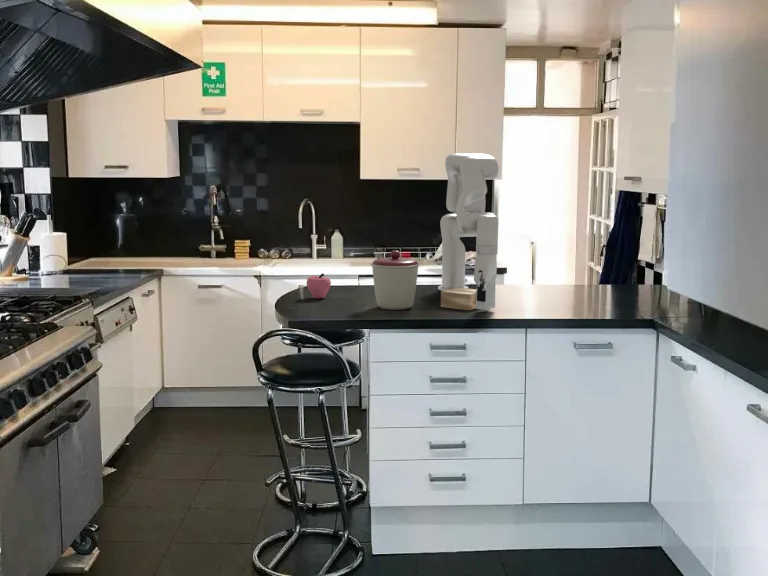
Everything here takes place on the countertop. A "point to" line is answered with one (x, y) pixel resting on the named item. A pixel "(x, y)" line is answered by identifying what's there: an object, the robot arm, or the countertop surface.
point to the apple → (318, 285)
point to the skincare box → (487, 295)
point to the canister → (395, 281)
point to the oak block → (459, 298)
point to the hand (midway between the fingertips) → (485, 299)
